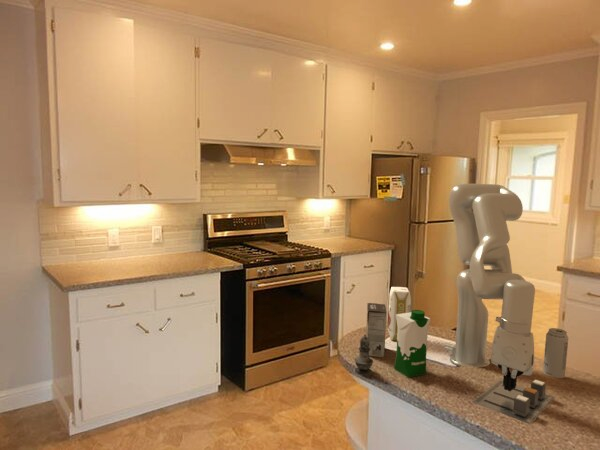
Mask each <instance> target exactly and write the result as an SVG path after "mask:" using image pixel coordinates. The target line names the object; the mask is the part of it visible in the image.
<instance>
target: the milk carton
mask: <svg viewBox="0 0 600 450" xmlns="http://www.w3.org/2000/svg"><path fill="white" fill-rule="evenodd" d="M425 314H426V312H425V311H424V310H420V309H413V310H410V313H403V314H396V320H397V326H398V334H397V340H396V355H395V362H394V370H395V371H397V372H399V373H401V374H402V375H404V376H406V377H407V378H412V377H413V378H414V377H418V376H421V375H427V347H428V346H427V345H428V335H429V334H428V331H429V327H430V324H431V320H432V319H431V318H430V317H428V316H425Z"/></svg>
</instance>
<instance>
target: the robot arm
mask: <svg viewBox="0 0 600 450" xmlns="http://www.w3.org/2000/svg"><path fill="white" fill-rule="evenodd" d="M448 195H449V197H448V207H449V211H450V214H451V217H452V220H453V222H454V225H455V232H456V233H455V234H456V244H457V252H458V258H459V261H460V262H461V264H463V265H466V266H469V268H467V269H464V270H462V271H460V272H459V273H458V275H457V276H456V290H457V314H456V315H457V318H456V332H455V333H456V334H455V344H452V343H449V342H445V343H444V350H445V351H448V352H450V353H451V354H450V356H449V361H450V362H451V363H452V364H454V365H455V366H457V367H463V366H466V367H471V368H482V367H483V368H484V367H487V366H489V365H490V364H493V365H495V366H496V367H498V368H499V370H500V371H501V373H502V375H503V378H502V380H503V385H504V389H505V390H508V391H511V390H512V389H515V387H516V385H517V381H518V377H520V376H522V375H523V376H532V375H533V373H534V371H533V366H534V361H535V338H534V334H533V332H532V323H533V322H532V321H533V312H534V303H535V295H536V288H535V287H536V286H535V285H534V284H533V283H532V282H530V281H527V280H526V279H525V278H524V277H523V276H522V275H520V274H519V273H513V269H512V260H511V254H510V249H509V246H508V245H507V244H509V241H511V236H510V233H509V228H508V224H507V221H508V222H514V221H518V220H519V219H520V218H521V217H522V215H523V211H524V210H523V208H524V207H523V202H522V200H521V198H520V197H519V196H518V195H517V193H515V192H513V191H512V190H510V189H508V188H507V187H505V186H504V185H501V184H496V183H495V184H494V183H493V184H492V183H461V184H456V185H455V186H453V187H452V188H451V190H450V192H449V194H448ZM486 266H488V267H490V268H491V269H486V268H485V267H486ZM483 300H502V305H501V314H500V316H495V322H497V323H498V324H499V325H498V326H497V327H496V329H495V332H494V336H493V339H492V344H491V348H490V359H489V358H487V357H486V354H487V353H486V352H487V351H486V350H487V340H488V339H487V338H488V328H489V327H488V325H489V310H488V308H487V306H486V305H485V304H484V302H483ZM511 369H512V371H511Z"/></svg>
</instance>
